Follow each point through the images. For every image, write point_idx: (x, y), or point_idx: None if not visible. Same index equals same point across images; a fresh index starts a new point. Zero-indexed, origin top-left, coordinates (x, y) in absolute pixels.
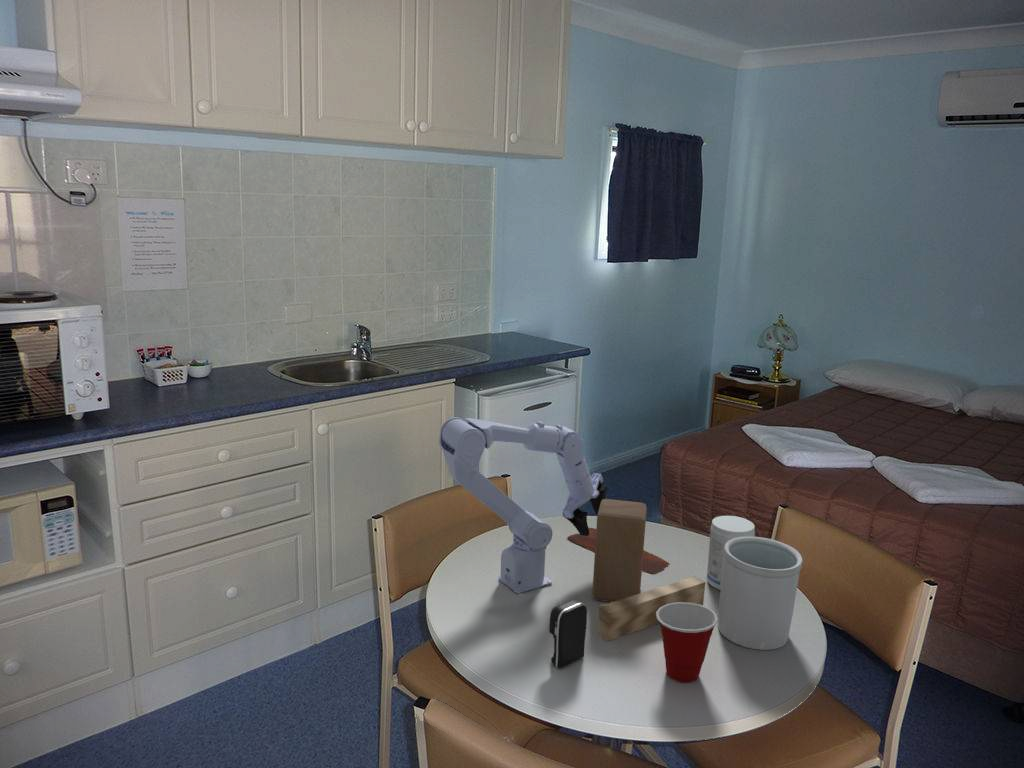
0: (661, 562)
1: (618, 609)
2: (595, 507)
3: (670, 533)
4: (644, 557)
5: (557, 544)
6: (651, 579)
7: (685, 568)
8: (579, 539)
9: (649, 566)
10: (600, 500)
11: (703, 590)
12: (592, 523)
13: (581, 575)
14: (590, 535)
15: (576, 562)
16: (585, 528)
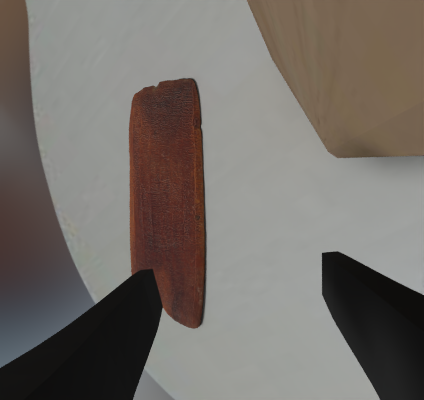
0: (142, 107)
1: None
2: (143, 342)
3: (59, 179)
4: (153, 146)
5: (234, 335)
6: (219, 62)
7: (126, 56)
8: (189, 302)
9: (175, 110)
10: (86, 364)
11: None
12: None
13: (342, 210)
14: (161, 289)
15: (280, 259)
16: (401, 285)
